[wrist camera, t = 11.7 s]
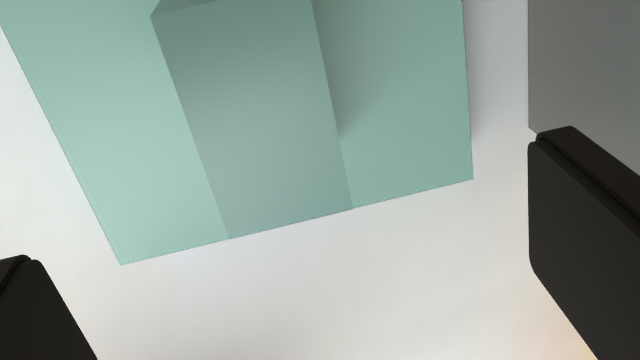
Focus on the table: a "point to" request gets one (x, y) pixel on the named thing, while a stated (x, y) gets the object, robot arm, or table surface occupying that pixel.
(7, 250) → the table surface
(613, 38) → the storage box
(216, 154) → the lid
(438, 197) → the table surface
